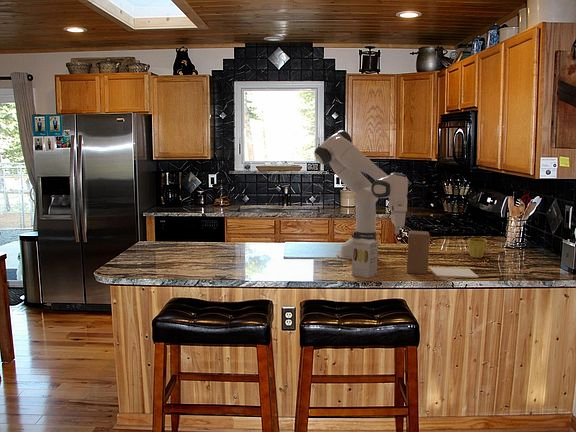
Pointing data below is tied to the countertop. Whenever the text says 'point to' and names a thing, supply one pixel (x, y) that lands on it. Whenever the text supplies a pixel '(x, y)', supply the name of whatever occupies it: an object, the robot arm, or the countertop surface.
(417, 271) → the wooden block
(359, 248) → the supplement box
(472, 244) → the plant pot
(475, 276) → the mat
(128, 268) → the countertop surface
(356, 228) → the robot arm
